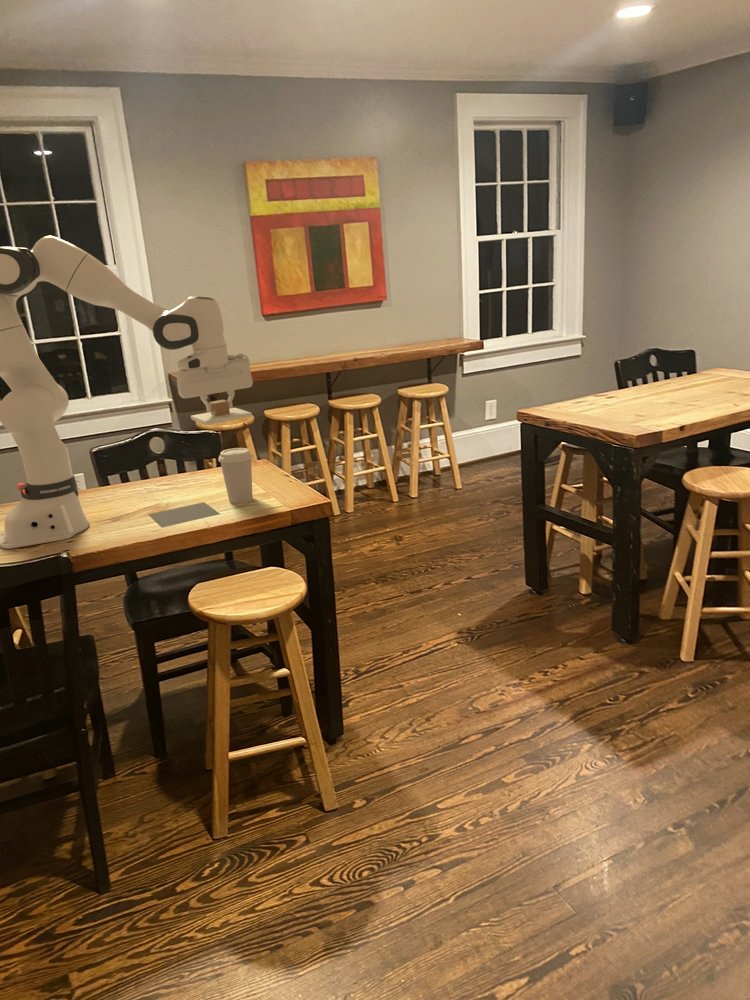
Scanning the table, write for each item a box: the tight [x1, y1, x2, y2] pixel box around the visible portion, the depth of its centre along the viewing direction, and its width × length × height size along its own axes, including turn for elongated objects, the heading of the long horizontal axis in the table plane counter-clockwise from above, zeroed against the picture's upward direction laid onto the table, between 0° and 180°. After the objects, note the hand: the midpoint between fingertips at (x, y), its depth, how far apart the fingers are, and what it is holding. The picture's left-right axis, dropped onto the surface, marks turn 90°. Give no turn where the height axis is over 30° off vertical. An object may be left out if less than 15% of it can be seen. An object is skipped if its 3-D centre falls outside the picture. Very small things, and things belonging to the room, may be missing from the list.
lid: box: [190, 399, 253, 426], centre depth 197 cm, size 13×13×4 cm
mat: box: [148, 501, 221, 528], centre depth 198 cm, size 16×14×1 cm
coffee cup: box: [218, 447, 254, 505], centre depth 205 cm, size 10×10×15 cm
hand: (219, 409), depth 197 cm, fingers closed on lid, 4 cm apart
